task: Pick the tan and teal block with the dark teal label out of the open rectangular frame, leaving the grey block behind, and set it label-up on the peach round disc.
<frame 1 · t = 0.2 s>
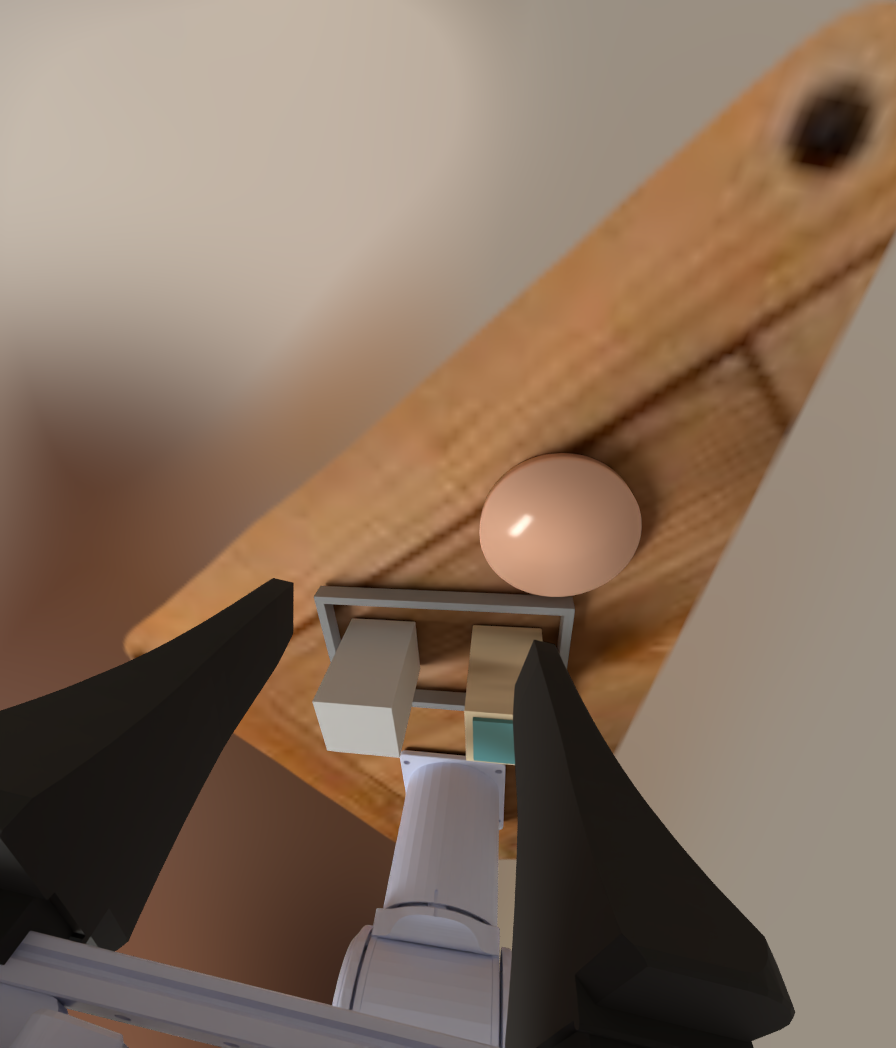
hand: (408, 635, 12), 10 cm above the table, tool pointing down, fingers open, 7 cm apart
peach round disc: (555, 524, 21), on the table
grey block: (387, 643, 26), resting in open rectangular frame
open rectangular frame: (445, 648, 26), on the table
tan and teal block: (505, 651, 25), resting in open rectangular frame
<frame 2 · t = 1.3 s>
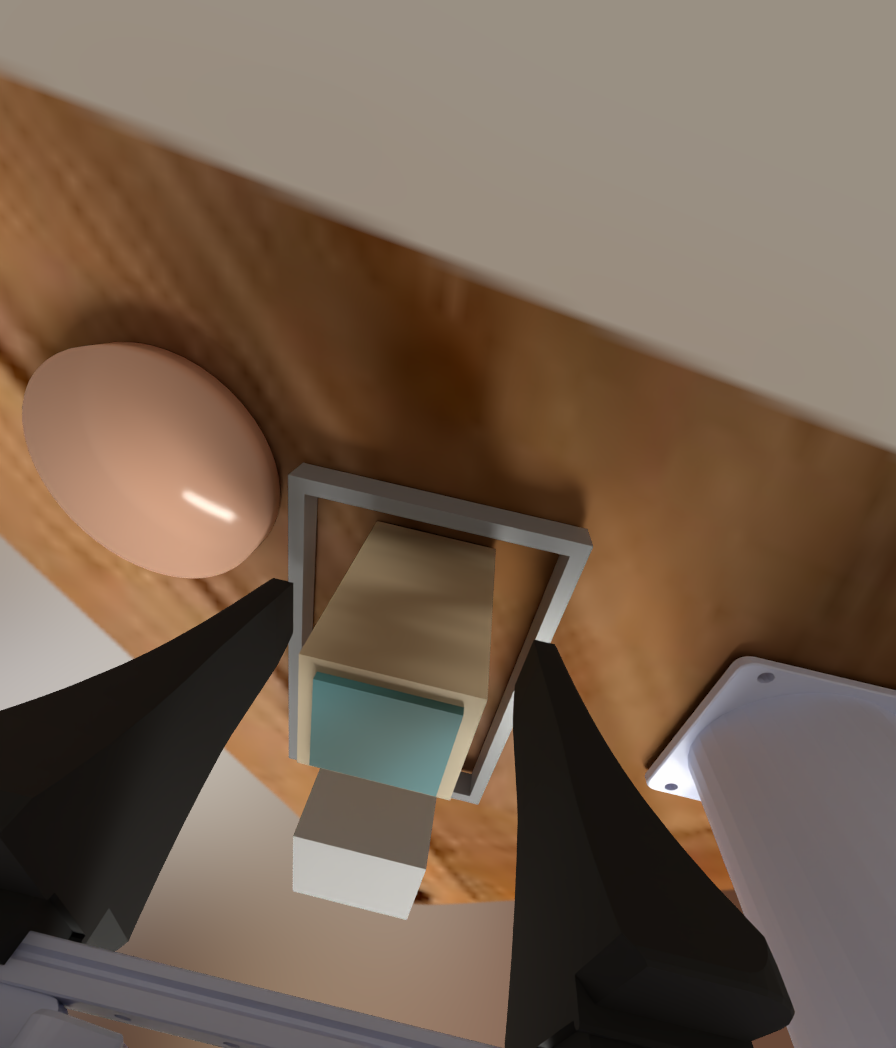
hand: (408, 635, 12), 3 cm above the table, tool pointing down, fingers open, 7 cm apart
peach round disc: (169, 466, 14), on the table
grey block: (398, 714, 18), resting in open rectangular frame
open rectangular frame: (410, 657, 16), on the table
tan and teal block: (426, 582, 15), resting in open rectangular frame
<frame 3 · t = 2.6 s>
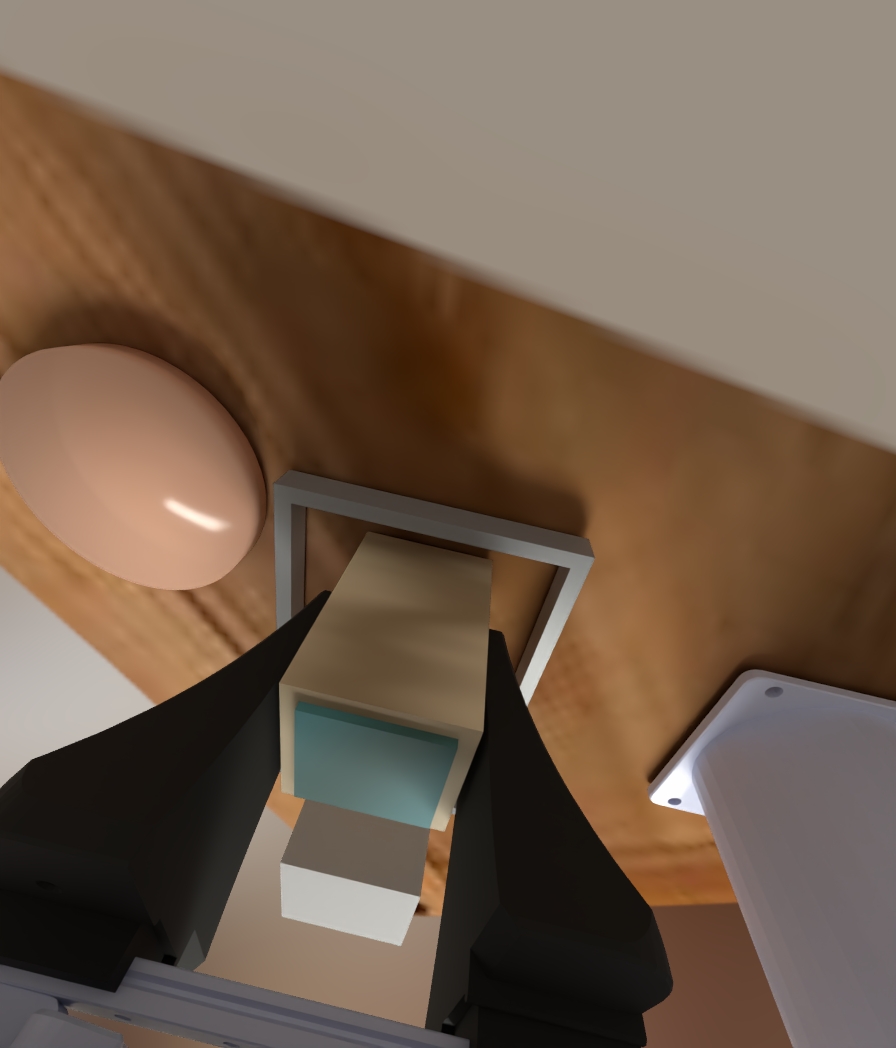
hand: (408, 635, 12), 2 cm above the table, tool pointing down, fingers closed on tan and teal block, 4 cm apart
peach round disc: (149, 473, 13), on the table
grey block: (392, 727, 18), resting in open rectangular frame
open rectangular frame: (404, 669, 16), on the table
tan and teal block: (420, 594, 14), resting in open rectangular frame, touching gripper
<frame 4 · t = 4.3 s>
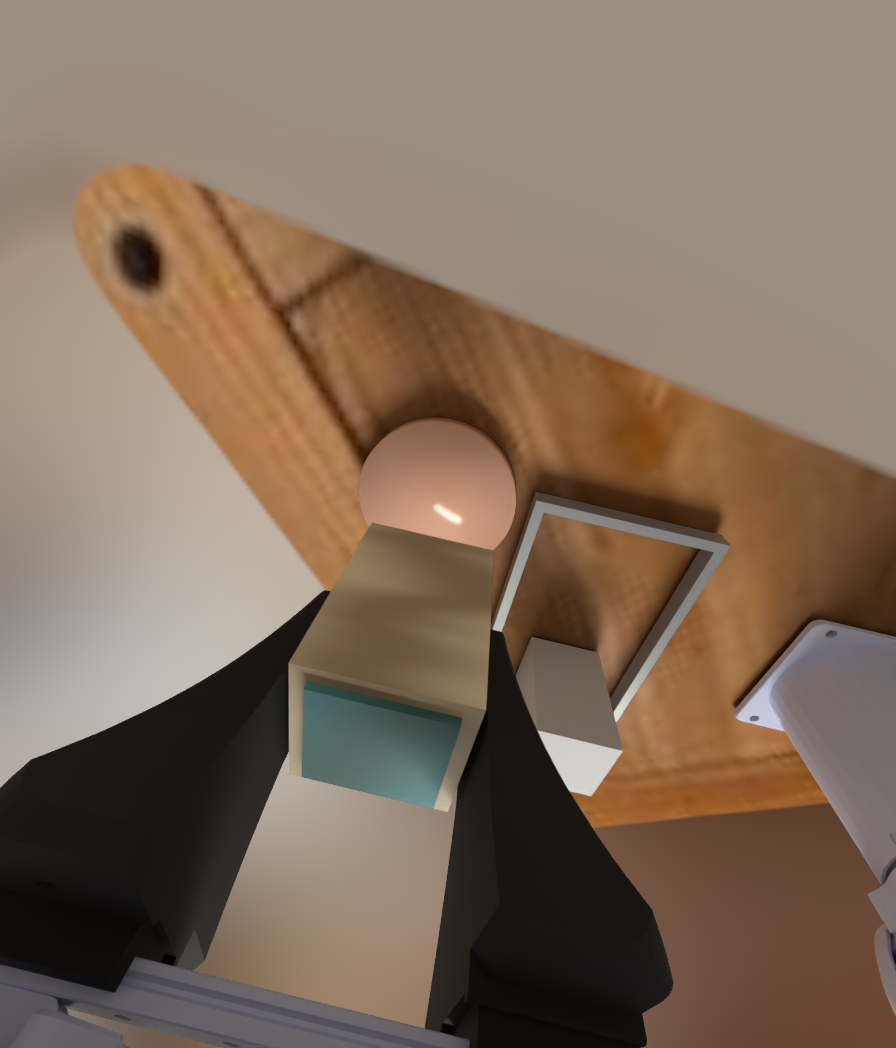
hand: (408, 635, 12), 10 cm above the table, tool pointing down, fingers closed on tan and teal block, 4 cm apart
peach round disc: (438, 493, 20), on the table
grey block: (554, 667, 25), resting in open rectangular frame
open rectangular frame: (575, 623, 23), on the table
tan and teal block: (423, 585, 14), point 7 cm above the table, touching gripper
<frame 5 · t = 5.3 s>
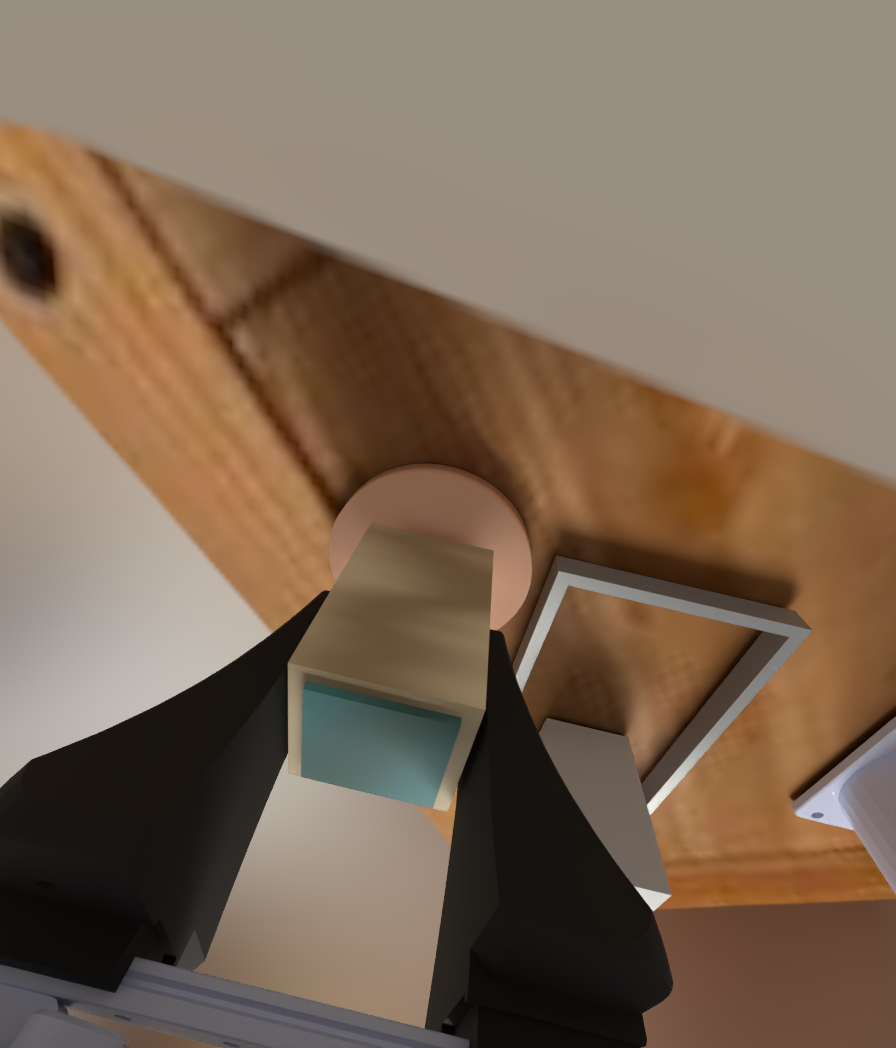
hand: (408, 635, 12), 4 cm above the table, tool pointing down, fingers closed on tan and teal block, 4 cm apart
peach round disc: (432, 554, 16), on the table
grey block: (573, 751, 21), resting in open rectangular frame
open rectangular frame: (601, 705, 19), on the table
tan and teal block: (422, 584, 14), point 2 cm above the table, touching gripper
when the fingers open (4 cm above the table, at t = 6.2 s): tan and teal block stays where it is, resting on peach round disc.
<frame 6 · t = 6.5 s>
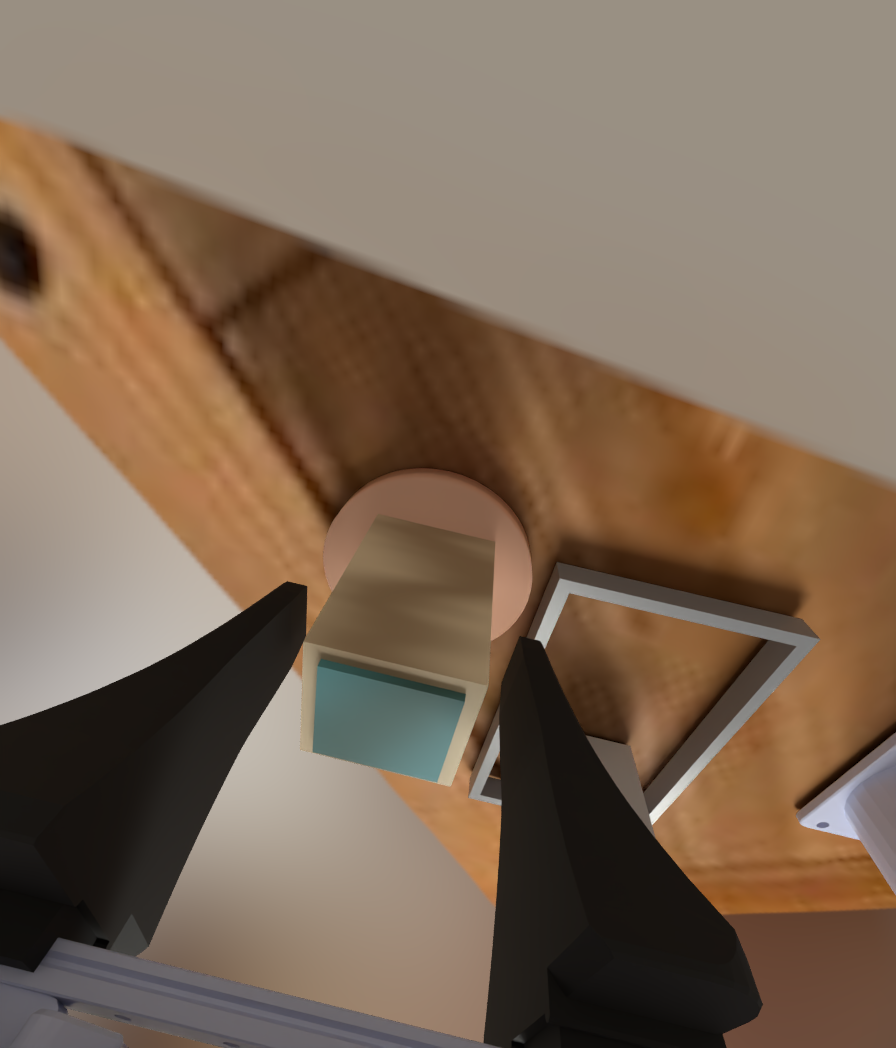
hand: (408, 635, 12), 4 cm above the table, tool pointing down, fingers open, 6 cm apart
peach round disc: (429, 561, 16), on the table
grey block: (574, 759, 20), resting in open rectangular frame
open rectangular frame: (602, 714, 18), on the table
tan and teal block: (426, 574, 15), point 1 cm above the table, touching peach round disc
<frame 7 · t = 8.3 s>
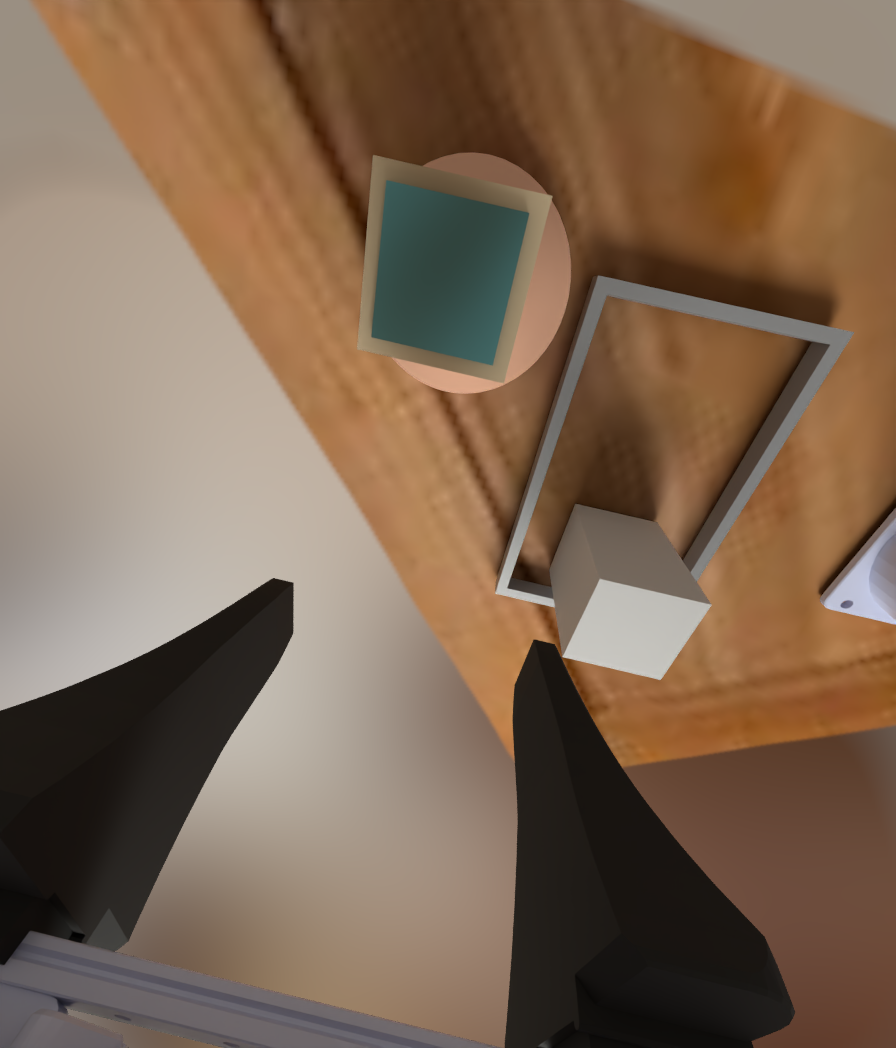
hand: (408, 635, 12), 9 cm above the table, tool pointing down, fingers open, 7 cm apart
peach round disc: (466, 287, 16), on the table
grey block: (600, 547, 21), resting in open rectangular frame
open rectangular frame: (631, 480, 19), on the table
tan and teal block: (465, 284, 15), point 1 cm above the table, touching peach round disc
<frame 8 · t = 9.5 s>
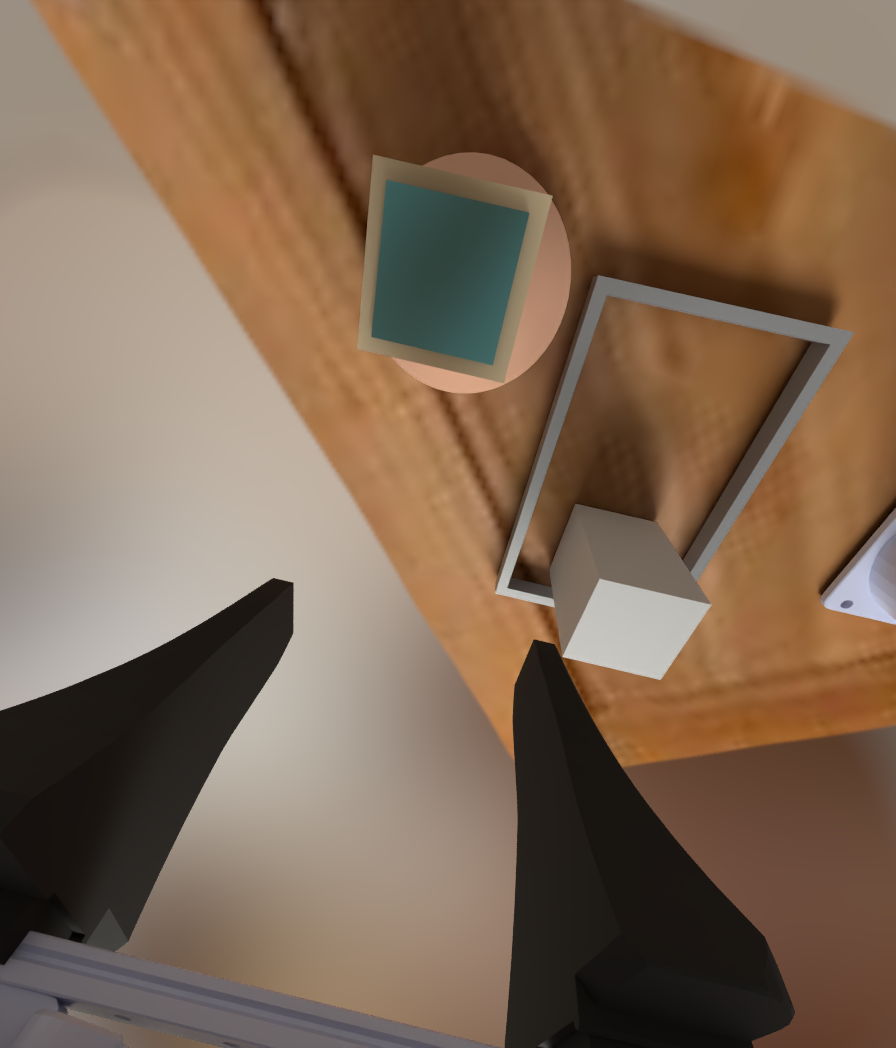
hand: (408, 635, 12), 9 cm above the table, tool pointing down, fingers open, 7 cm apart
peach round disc: (466, 287, 16), on the table
grey block: (600, 547, 21), resting in open rectangular frame
open rectangular frame: (631, 480, 19), on the table
tan and teal block: (465, 284, 15), point 1 cm above the table, touching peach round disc
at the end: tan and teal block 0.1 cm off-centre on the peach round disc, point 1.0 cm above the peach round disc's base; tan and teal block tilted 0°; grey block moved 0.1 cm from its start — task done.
